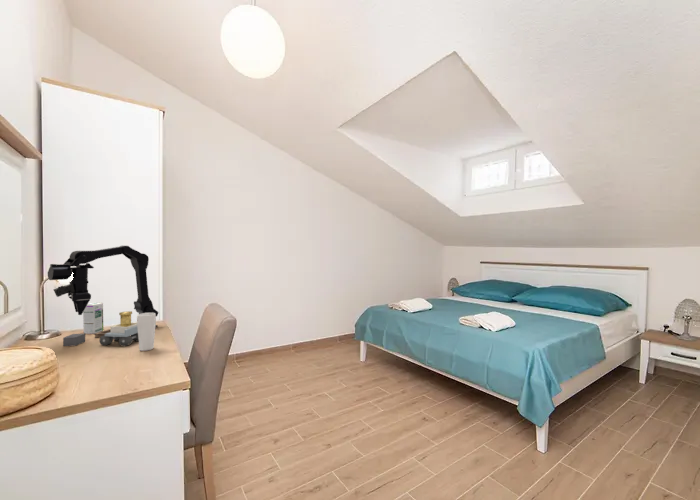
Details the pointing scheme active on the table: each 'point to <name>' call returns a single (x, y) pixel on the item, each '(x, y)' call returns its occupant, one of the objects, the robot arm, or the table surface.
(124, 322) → the stop pin
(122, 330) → the tray
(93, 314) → the syrup box
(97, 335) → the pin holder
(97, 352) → the table surface
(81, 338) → the block
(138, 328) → the drinking glass
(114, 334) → the trolley
